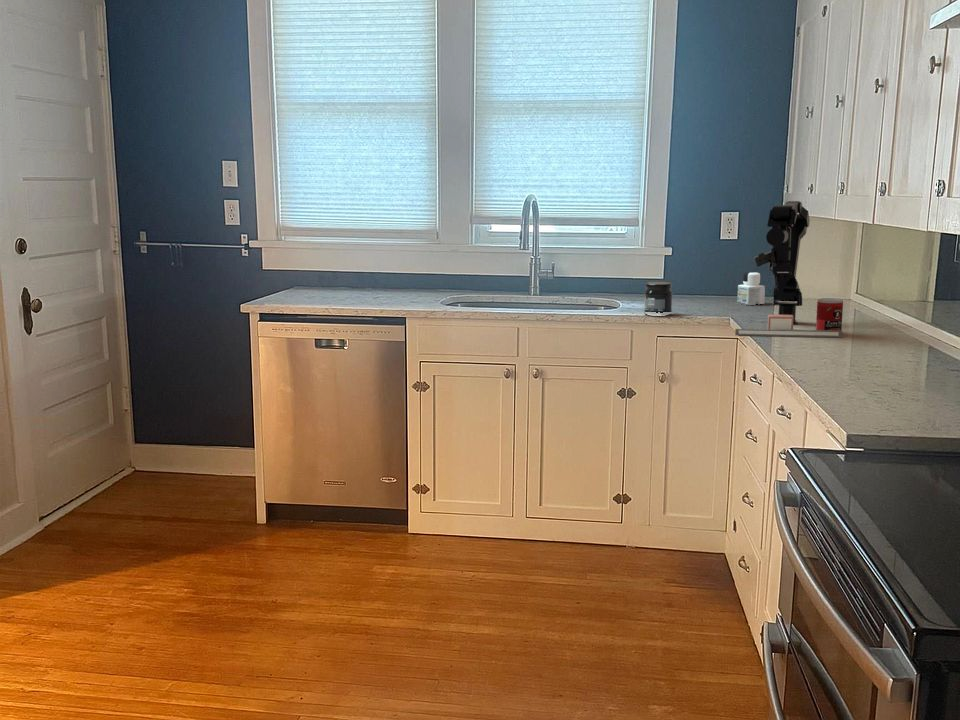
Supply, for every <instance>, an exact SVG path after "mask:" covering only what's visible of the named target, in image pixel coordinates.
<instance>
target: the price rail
mask: <svg viewBox="0 0 960 720" xmlns="http://www.w3.org/2000/svg"><path fill="white" fill-rule="evenodd" d="M734 333H735V336H752V337H753V336H756V337H760V336H762V337H765V336H766V337H793V338H794V337H795V338H796V337H802V338H806V337H807V338H808V337H809V338H842V337H843V330H842V331H833V330H816V329H793V330H778V329H767V328H766V329H765V328H763V329H762V328H735V332H734Z"/></svg>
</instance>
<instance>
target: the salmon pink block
mask: <svg viewBox="0 0 960 720" xmlns="http://www.w3.org/2000/svg"><path fill="white" fill-rule="evenodd" d="M793 319H794V317H793V315H778V314H767V328H766V329H778V330H794V323H793Z"/></svg>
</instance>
